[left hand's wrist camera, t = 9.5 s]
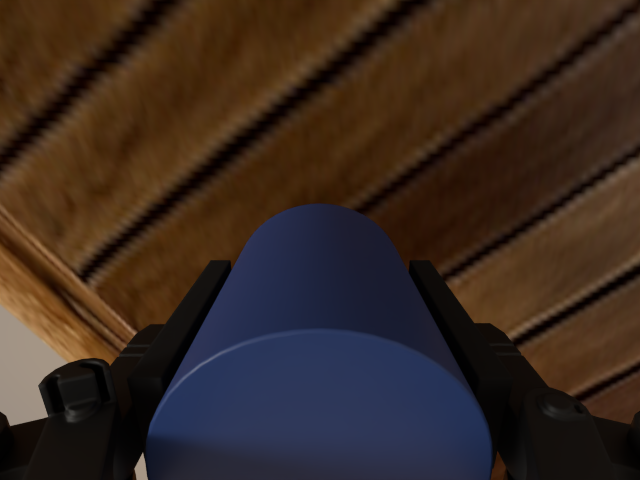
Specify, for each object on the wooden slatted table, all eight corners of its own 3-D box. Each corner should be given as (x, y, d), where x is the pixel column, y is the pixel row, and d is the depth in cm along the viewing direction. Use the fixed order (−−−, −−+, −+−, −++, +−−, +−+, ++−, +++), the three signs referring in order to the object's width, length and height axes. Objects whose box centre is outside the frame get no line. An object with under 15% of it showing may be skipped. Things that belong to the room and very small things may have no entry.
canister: (346, 374, 17) (370, 617, 9) (210, 309, 16) (94, 520, 8) (435, 256, 15) (571, 431, 7) (286, 170, 14) (238, 259, 6)
